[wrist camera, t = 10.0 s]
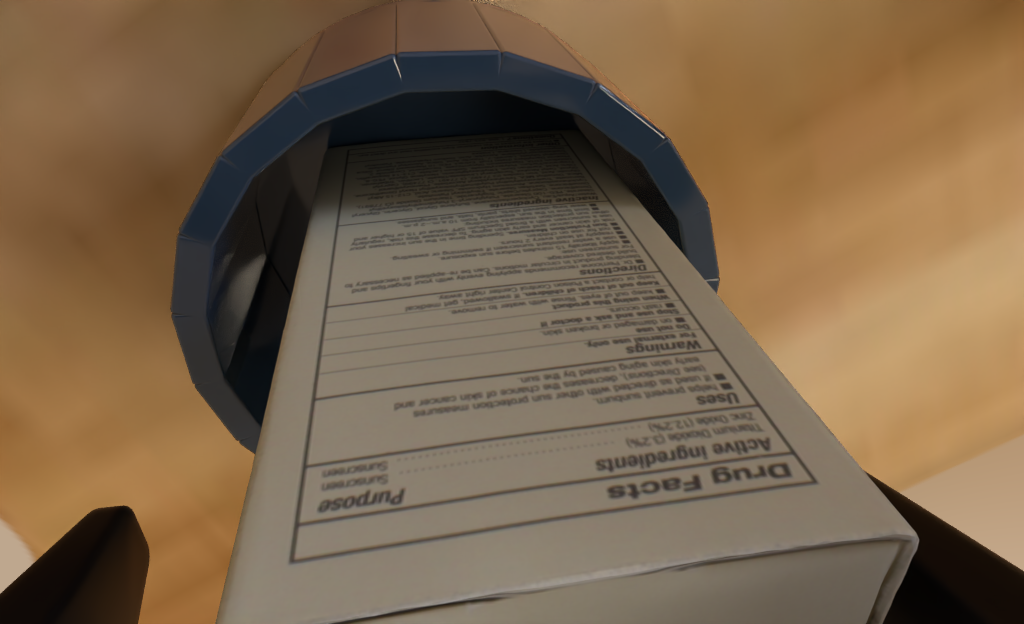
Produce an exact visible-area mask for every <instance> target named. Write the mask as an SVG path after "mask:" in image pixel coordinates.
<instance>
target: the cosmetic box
mask: <svg viewBox="0 0 1024 624" xmlns="http://www.w3.org/2000/svg"><path fill="white" fill-rule="evenodd" d="M918 543H919V538H918V536H917V533H916V532H915V531H914V530H913V529H912V527H911V526H910V525H909V524H908V523H907V521H906V520H905V519H904V518H903V517H902V516H901V514H900V513H899V512H898V511H897V510H896V508H895V507H894V506H893V505H892V504H891V503H890V501H889V500H888V499H887V498H886V497H885V495H884V494H883V493H882V492H881V491H880V490H879V488H878V487H877V486H876V485H875V484H874V483H873V481H872V480H871V479H870V478H869V477H868V475H867V474H866V473H865V472H864V471H863V470H862V468H861V467H860V466H859V465H858V464H857V462H856V461H855V460H854V459H853V458H852V456H851V455H850V454H849V453H848V452H847V450H846V449H845V448H844V447H843V446H842V444H841V443H840V442H839V441H838V439H837V438H836V437H835V436H834V435H833V433H832V432H831V431H830V430H829V429H828V427H827V426H826V425H825V423H824V422H823V421H822V420H821V419H820V417H819V416H818V415H817V414H816V413H815V412H814V411H813V409H812V408H811V407H810V406H809V405H808V404H807V402H806V401H805V400H804V399H803V398H802V397H801V395H800V394H799V393H798V392H797V391H796V389H795V388H794V387H793V386H792V385H791V383H790V382H789V381H788V380H787V379H786V377H785V376H784V375H783V374H782V372H781V371H780V370H779V369H778V368H777V366H776V365H775V364H774V363H773V362H772V360H771V359H770V358H769V357H768V356H767V354H766V353H765V352H764V351H763V350H762V348H761V347H760V346H759V345H758V344H757V342H756V341H755V340H754V339H753V338H752V336H751V335H750V334H749V333H748V332H747V330H746V329H745V328H744V327H743V326H742V324H741V323H740V322H739V321H738V320H737V318H736V317H735V316H734V315H733V313H732V312H731V311H730V310H729V309H728V307H727V306H726V305H725V304H724V302H723V301H722V300H721V299H720V297H719V296H718V295H717V293H716V292H715V291H714V290H713V289H712V288H711V287H710V285H709V284H708V283H707V282H706V281H705V280H704V279H703V277H702V276H701V275H700V274H699V272H698V271H697V270H696V269H695V268H694V267H693V265H692V264H691V263H690V262H689V261H688V259H687V258H686V257H685V256H684V254H683V253H682V252H681V251H680V250H679V248H678V247H677V246H676V245H675V244H674V243H673V241H672V240H671V239H670V238H669V237H668V235H667V234H666V233H665V231H664V230H663V229H662V228H661V227H660V226H659V225H658V223H657V222H656V221H655V220H654V219H653V218H652V216H651V215H650V214H649V213H648V212H647V210H646V209H645V208H644V207H643V206H642V204H641V203H640V202H639V200H638V199H637V198H636V196H635V195H634V194H633V193H632V192H631V191H630V190H629V188H628V187H627V186H626V185H625V183H624V182H623V181H622V180H621V179H620V178H619V176H618V175H617V174H616V173H615V172H614V170H613V169H612V168H611V167H610V166H609V164H608V163H607V162H606V161H605V160H604V158H603V157H602V156H601V155H600V154H599V152H598V151H597V150H596V149H595V148H594V146H593V145H592V144H591V143H590V142H589V140H588V139H587V138H586V137H585V136H584V134H583V133H581V132H580V131H578V130H550V131H531V132H512V133H497V134H483V135H467V136H454V137H441V138H427V139H414V140H401V141H387V142H378V143H369V144H359V145H349V146H339V147H333V148H329V149H327V150H326V152H325V154H324V157H323V162H322V166H321V170H320V174H319V179H318V183H317V188H316V192H315V197H314V201H313V206H312V211H311V215H310V219H309V224H308V228H307V232H306V237H305V241H304V245H303V249H302V253H301V257H300V262H299V266H298V270H297V274H296V279H295V284H294V289H293V293H292V297H291V301H290V305H289V310H288V314H287V319H286V324H285V328H284V330H283V335H282V340H281V345H280V349H279V353H278V358H277V362H276V366H275V370H274V375H273V379H272V384H271V389H270V393H269V398H268V402H267V406H266V410H265V415H264V419H263V424H262V429H261V433H260V438H259V442H258V446H257V450H256V454H255V457H254V461H253V468H252V472H251V476H250V480H249V484H248V488H247V492H246V496H245V500H244V505H243V509H242V513H241V517H240V522H239V526H238V530H237V534H236V538H235V543H234V547H233V551H232V555H231V560H230V564H229V568H228V572H227V576H226V581H225V585H224V589H223V593H222V598H221V602H220V606H219V610H218V614H217V619H216V623H215V624H883V621H884V619H885V617H886V615H887V612H888V610H889V608H890V606H891V604H892V601H893V599H894V596H895V594H896V592H897V590H898V588H899V587H900V585H901V583H902V581H903V579H904V576H905V574H906V572H907V569H908V567H909V564H910V562H911V559H912V557H913V556H914V554H915V552H916V551H917V547H918Z"/></svg>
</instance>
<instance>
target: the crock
mask: <svg viewBox="0 0 1024 624" xmlns="http://www.w3.org/2000/svg"><path fill="white" fill-rule="evenodd" d="M550 130H578V131H580V132H581V133H583V134H584V136H585V137H586V138H587V139H588V140H589V142H590V143H591V144H592V145H593V146H594V148H595V149H596V150H597V151H598V152H599V154H600V155H601V156H602V157H603V158H604V160H605V161H606V162H607V163H608V164H609V166H610V167H611V168H612V169H613V170H614V172H615V173H616V174H617V175H618V176H619V178H620V179H621V180H622V181H623V182H624V183H625V185H626V186H627V187H628V188H629V190H630V191H631V192H632V193H633V194H634V195H635V196H636V198H637V199H638V200H639V202H640V203H641V204H642V206H643V207H644V208H645V209H646V210H647V212H648V213H649V214H650V215H651V216H652V218H653V219H654V220H655V221H656V222H657V223H658V225H659V226H660V227H661V228H662V229H663V230H664V231H665V233H666V234H667V235H668V237H669V238H670V239H671V240H672V241H673V243H674V244H675V245H676V246H677V247H678V248H679V250H680V251H681V252H682V253H683V254H684V256H685V257H686V258H687V259H688V261H689V262H690V263H691V264H692V265H693V267H694V268H695V269H696V270H697V271H698V272H699V274H700V275H701V276H702V277H703V279H704V280H705V281H706V282H707V283H708V284H709V285H710V287H711V288H712V289H713V290H714V291H715V292H716V293H717V290H718V286H719V281H720V278H719V268H718V262H717V255H716V249H715V243H714V236H713V230H712V223H711V217H710V210H709V207H708V202H707V201H706V199H705V197H704V195H703V194H702V192H701V190H700V189H699V187H698V185H697V184H696V182H695V180H694V178H693V177H692V175H691V173H690V172H689V170H688V168H687V167H686V165H685V163H684V161H683V160H682V158H681V156H680V155H679V153H678V151H677V150H676V148H675V146H674V144H673V143H672V141H671V139H670V138H669V137H668V136H667V135H666V134H665V133H664V132H663V131H662V130H661V129H660V128H659V127H658V126H657V125H656V124H655V123H654V122H653V121H652V120H651V119H650V118H649V117H647V116H646V115H645V114H644V113H643V112H642V111H641V110H640V109H639V108H638V107H637V106H636V105H635V104H634V103H633V102H632V101H631V100H630V99H629V98H628V97H626V96H625V95H624V94H623V93H622V92H621V91H620V90H619V89H618V88H617V87H616V86H615V85H614V84H613V83H612V82H611V81H610V80H609V79H608V78H607V77H606V76H604V75H603V74H602V73H601V72H600V71H599V70H598V69H597V68H596V67H595V66H594V65H593V64H591V63H590V62H589V61H588V60H586V59H585V58H584V57H582V56H581V55H580V54H579V53H577V52H576V51H575V50H574V49H573V48H572V47H571V46H570V45H568V44H567V43H566V42H564V41H563V40H562V39H560V38H559V37H557V36H556V35H555V34H554V33H552V32H551V31H550V30H548V29H547V28H546V27H543V26H541V25H540V24H538V23H536V22H533V21H531V20H529V19H527V18H526V17H524V16H522V15H519V14H517V13H514V12H511V11H508V10H505V9H503V8H500V7H497V6H494V5H490V4H485V3H481V2H476V1H471V0H399V1H395V2H391V3H386V4H382V5H378V6H373V7H371V8H368V9H365V10H363V11H360V12H358V13H355V14H353V15H350V16H347V17H345V18H343V19H341V20H339V21H338V22H336V23H334V24H332V25H331V26H329V27H327V28H325V29H324V30H322V31H320V32H318V33H317V34H316V35H315V36H313V37H312V38H311V39H310V40H308V41H307V42H306V43H304V44H303V45H302V46H301V47H299V48H298V49H297V50H296V51H294V53H293V54H292V55H291V56H290V57H289V58H288V59H287V60H286V61H285V62H284V63H283V64H282V65H281V66H280V67H279V68H278V69H277V70H276V71H274V72H273V73H272V74H271V75H270V77H269V78H268V79H267V80H266V82H265V83H264V85H263V86H262V88H261V90H260V91H259V93H258V94H257V96H256V97H255V99H254V100H253V102H252V104H251V105H250V107H249V108H248V110H247V111H246V113H245V114H244V116H243V117H242V119H241V121H240V122H239V124H238V125H237V127H236V128H235V130H234V131H233V133H232V134H231V136H230V138H229V139H228V141H227V142H226V144H225V145H224V147H223V148H222V150H221V152H220V153H219V155H218V156H217V158H216V160H215V162H214V164H213V165H212V167H211V169H210V171H209V173H208V175H207V177H206V179H205V180H204V182H203V184H202V186H201V188H200V190H199V192H198V194H197V196H196V197H195V199H194V201H193V203H192V205H191V207H190V209H189V211H188V212H187V214H186V216H185V218H184V220H183V222H182V224H181V226H180V227H179V233H178V235H177V239H176V251H175V262H174V274H173V285H172V297H171V308H170V309H171V312H172V315H171V317H172V320H173V323H174V326H175V329H176V332H177V335H178V339H179V342H180V345H181V348H182V351H183V354H184V357H185V361H186V364H187V367H188V370H189V373H190V376H191V379H192V382H193V384H195V388H196V389H197V391H198V392H199V393H200V394H201V396H202V397H203V398H204V400H205V401H206V402H207V403H208V405H209V406H210V407H211V409H212V410H213V411H214V412H215V414H216V415H217V416H218V418H219V419H220V420H221V421H222V423H223V424H224V425H225V426H226V428H227V429H228V430H229V432H230V433H231V434H232V435H233V437H234V438H235V439H236V440H237V441H239V442H240V444H241V445H242V446H244V447H245V448H247V449H248V450H250V451H251V452H253V453H254V454H256V450H257V446H258V442H259V438H260V433H261V429H262V424H263V419H264V415H265V410H266V406H267V402H268V398H269V393H270V389H271V384H272V379H273V375H274V370H275V366H276V362H277V358H278V353H279V349H280V345H281V340H282V335H283V330H284V328H285V324H286V319H287V314H288V310H289V305H290V301H291V297H292V293H293V289H294V284H295V279H296V274H297V270H298V266H299V262H300V257H301V253H302V249H303V245H304V241H305V237H306V232H307V228H308V224H309V219H310V215H311V211H312V206H313V201H314V197H315V192H316V188H317V183H318V179H319V174H320V170H321V166H322V162H323V157H324V154H325V152H326V150H327V149H329V148H333V147H339V146H349V145H359V144H369V143H378V142H387V141H401V140H414V139H427V138H441V137H454V136H467V135H483V134H497V133H512V132H531V131H550Z"/></svg>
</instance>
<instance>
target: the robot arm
mask: <svg viewBox="0 0 1024 624" xmlns="http://www.w3.org/2000/svg"><path fill="white" fill-rule="evenodd" d="M863 471H864V470H863ZM864 472H865V471H864ZM865 473H866V474H867V475H868V477H869V478H870V479H871V480H872V481H873V483H874V484H875V485H876V486H877V487H878V488H879V490H880V491H881V492H882V493H883V494H884V495H885V497H886V498H887V499H888V500H889V501H890V503H891V504H892V505H893V506H894V507H895V508H896V510H897V511H898V512H899V513H900V514H901V516H902V517H903V518H904V519H905V520H906V521H907V523H908V524H909V525H910V526H911V527H912V529H913V530H914V531H915V532H916V533H917V536H918V538H919V543H918V547H917V551H916V552H915V554H914V556H913V557H912V559H911V562H910V564H909V567H908V569H907V572H906V574H905V576H904V579H903V581H902V583H901V585H900V587H899V588H898V590H897V592H896V594H895V596H894V599H893V601H892V604H891V606H890V608H889V610H888V612H887V615H886V617H885V619H884V621H883V624H1024V571H1023V570H1021V569H1019V568H1018V567H1016V566H1015V565H1013V564H1011V563H1010V562H1008V561H1007V560H1005V559H1004V558H1002V557H1000V556H999V555H997V554H996V553H994V552H992V551H991V550H989V549H988V548H986V547H984V546H983V545H981V544H979V543H978V542H976V541H975V540H973V539H971V538H970V537H969V536H967V535H965V534H964V533H962V532H961V531H959V530H957V529H956V528H954V527H953V526H951V525H949V524H948V523H946V522H945V521H943V520H941V519H940V518H938V517H937V516H935V515H934V514H932V513H930V512H929V511H927V510H926V509H924V508H922V507H921V506H919V505H918V504H916V503H914V502H913V501H911V500H910V499H908V498H907V497H905V496H903V495H902V494H900V493H899V492H897V491H895V490H894V489H892V488H891V487H889V486H887V485H886V484H884V483H883V482H881V481H880V480H878V479H876V478H875V477H873V476H872V475H870V474H868V473H867V472H865ZM149 557H150V556H149V547H148V544H147V541H146V539H145V537H144V535H143V532H142V530H141V528H140V525H139V523H138V521H137V519H136V516H135V514H134V512H133V511H132V509H131V508H129V507H128V506H114V507H105V508H98V509H95V510H93V511H91V512H90V513H88V514H87V515H86V516H85V517H84V518H83V519H82V520H81V521H79V522H78V523H77V524H76V525H75V526H74V527H73V528H72V529H71V530H70V531H69V532H67V533H66V534H65V535H64V536H63V537H62V538H61V539H60V540H59V541H58V542H56V543H55V544H54V545H53V546H52V547H51V548H50V549H49V550H48V551H47V552H46V553H44V554H43V555H42V556H41V557H40V558H39V559H38V560H37V561H36V562H35V563H33V564H32V565H31V566H30V567H29V568H28V569H27V570H26V571H25V572H24V573H23V574H21V575H20V576H19V577H18V578H17V579H16V580H15V581H14V582H13V583H12V584H10V585H9V586H8V587H7V588H6V589H5V590H4V591H3V592H2V593H1V594H0V624H138V620H139V615H140V609H141V604H142V599H143V593H144V588H145V583H146V577H147V572H148V567H149Z"/></svg>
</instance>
